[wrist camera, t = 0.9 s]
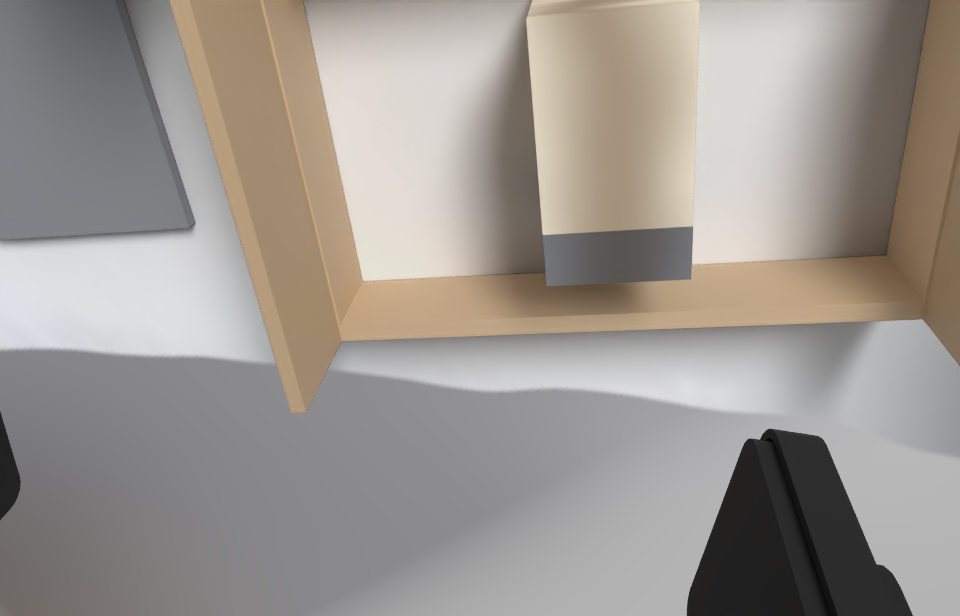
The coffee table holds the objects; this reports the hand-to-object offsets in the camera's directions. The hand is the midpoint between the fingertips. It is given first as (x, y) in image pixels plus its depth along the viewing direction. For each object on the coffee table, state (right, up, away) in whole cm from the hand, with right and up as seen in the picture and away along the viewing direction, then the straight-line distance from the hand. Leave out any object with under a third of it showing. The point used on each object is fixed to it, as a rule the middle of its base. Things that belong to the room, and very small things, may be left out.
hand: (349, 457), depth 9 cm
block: (+7, +10, +21) cm, 24 cm away
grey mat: (-17, +11, +23) cm, 31 cm away
